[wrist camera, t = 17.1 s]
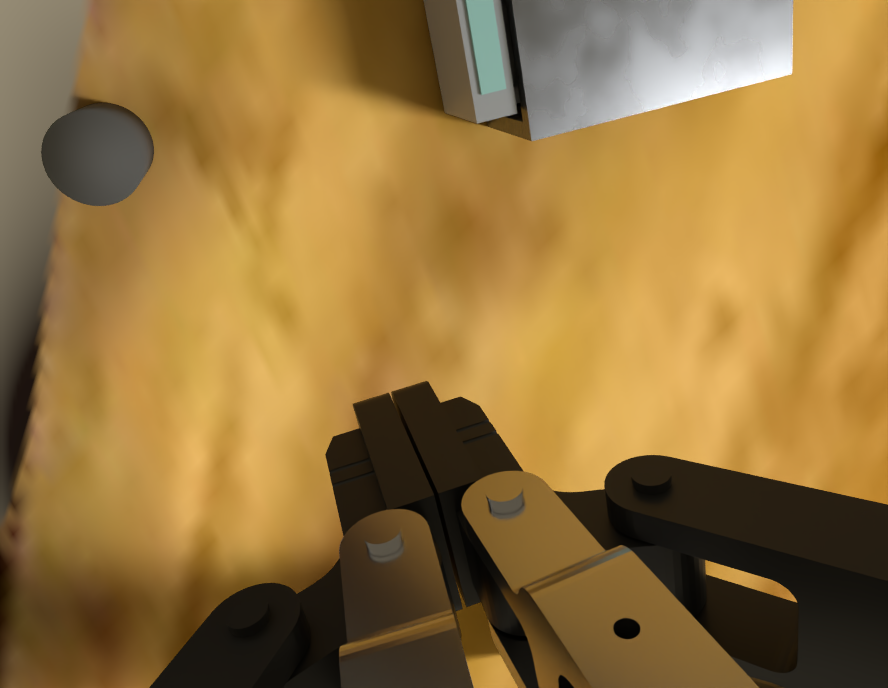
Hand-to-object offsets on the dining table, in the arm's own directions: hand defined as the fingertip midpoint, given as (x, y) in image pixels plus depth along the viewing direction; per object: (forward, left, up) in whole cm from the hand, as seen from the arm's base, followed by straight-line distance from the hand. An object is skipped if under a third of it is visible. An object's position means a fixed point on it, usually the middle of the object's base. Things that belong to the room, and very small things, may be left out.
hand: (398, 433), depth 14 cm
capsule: (+4, +8, -27) cm, 28 cm away
